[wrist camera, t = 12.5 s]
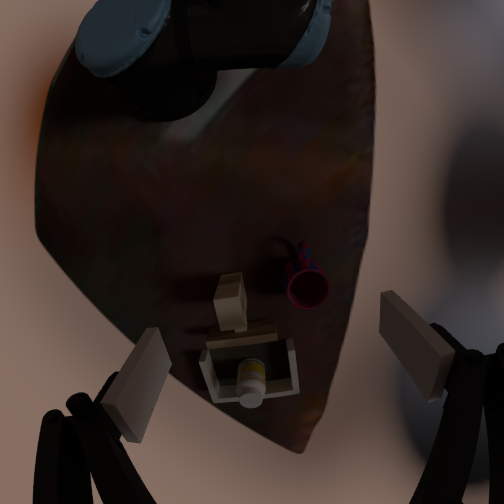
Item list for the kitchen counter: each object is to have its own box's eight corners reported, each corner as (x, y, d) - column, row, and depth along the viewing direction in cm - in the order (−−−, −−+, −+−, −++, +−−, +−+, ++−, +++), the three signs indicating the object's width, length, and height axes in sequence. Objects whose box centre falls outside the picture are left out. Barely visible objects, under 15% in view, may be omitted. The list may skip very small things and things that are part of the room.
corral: (202, 349, 51) (198, 362, 47) (292, 338, 50) (294, 350, 46) (215, 390, 54) (213, 402, 50) (297, 380, 53) (299, 393, 49)
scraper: (197, 278, 47) (183, 303, 37) (266, 267, 46) (269, 291, 37) (211, 334, 50) (203, 366, 40) (275, 325, 49) (280, 357, 40)
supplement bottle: (247, 353, 51) (246, 385, 42) (270, 364, 52) (272, 397, 42) (232, 370, 52) (229, 403, 43) (255, 381, 53) (255, 414, 44)
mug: (281, 293, 48) (285, 311, 41) (283, 236, 45) (288, 246, 38) (319, 292, 48) (328, 309, 41) (323, 236, 45) (334, 246, 38)
